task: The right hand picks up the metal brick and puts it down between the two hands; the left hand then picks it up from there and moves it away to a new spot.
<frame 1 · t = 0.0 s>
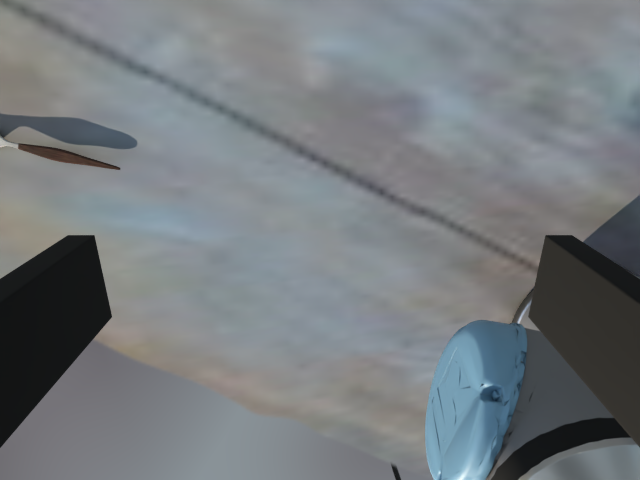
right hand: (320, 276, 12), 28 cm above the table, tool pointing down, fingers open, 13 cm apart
fork: (36, 147, 39), on the table
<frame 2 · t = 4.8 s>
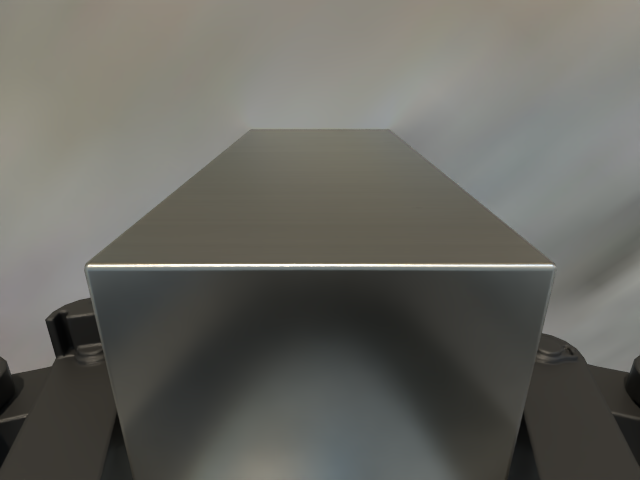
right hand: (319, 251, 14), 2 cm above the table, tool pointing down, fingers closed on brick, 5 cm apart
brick: (320, 226, 16), on the table, touching right hand
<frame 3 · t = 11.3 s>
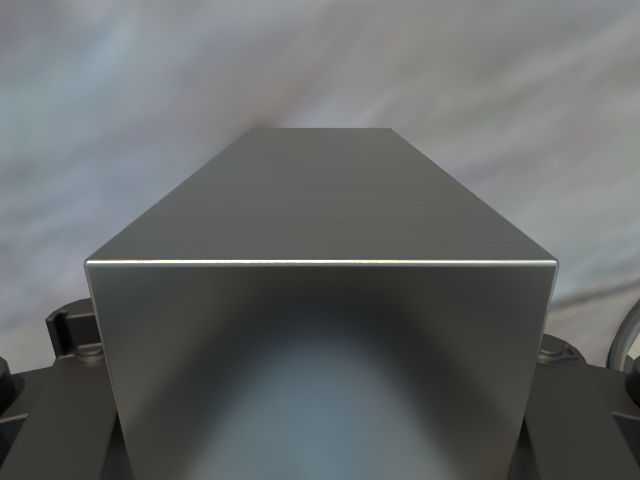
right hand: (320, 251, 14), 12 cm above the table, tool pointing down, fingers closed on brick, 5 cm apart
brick: (320, 225, 16), point 9 cm above the table, touching right hand
when the right hand's fingers open (4 cm above the table, at t = 18.1 s): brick drops 1 cm, on the table.
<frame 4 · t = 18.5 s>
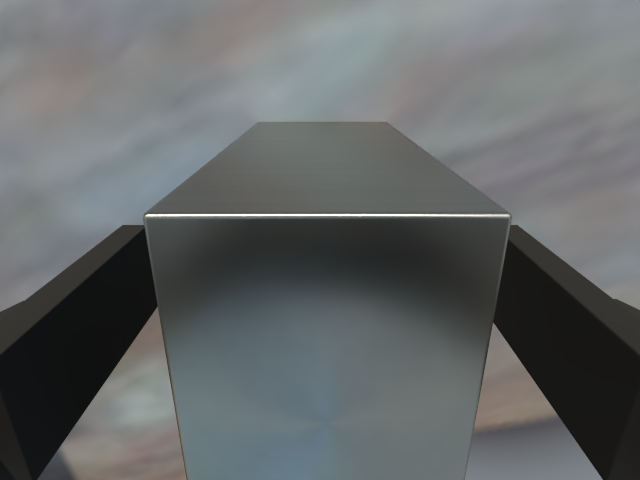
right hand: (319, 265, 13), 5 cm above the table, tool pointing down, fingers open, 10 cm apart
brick: (322, 212, 18), on the table
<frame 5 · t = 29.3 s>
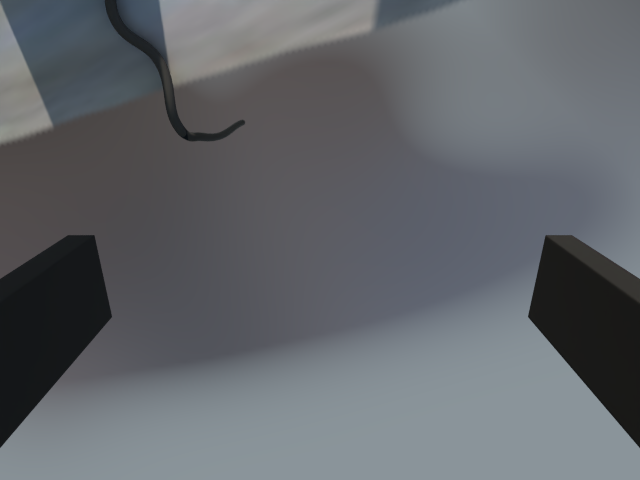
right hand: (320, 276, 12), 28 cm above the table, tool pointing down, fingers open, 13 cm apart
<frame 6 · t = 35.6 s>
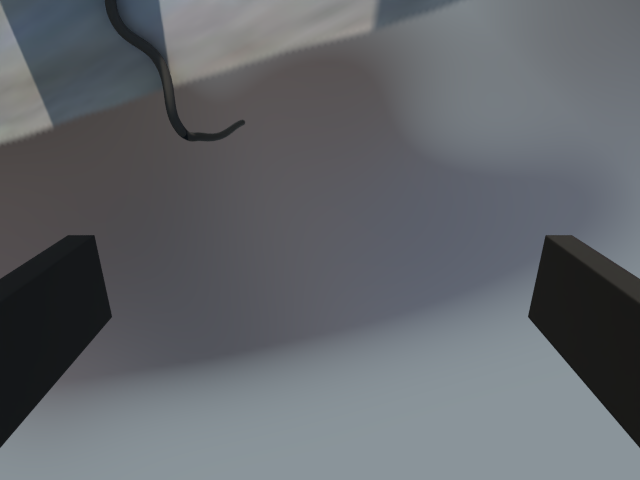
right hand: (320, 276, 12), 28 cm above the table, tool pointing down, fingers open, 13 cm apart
when the left hand's fingers open (4 cm above the table, at t = 42.1 s): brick drops 1 cm, on the table.
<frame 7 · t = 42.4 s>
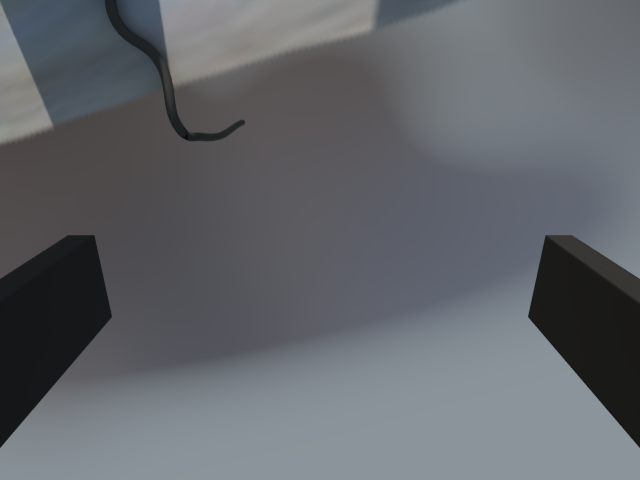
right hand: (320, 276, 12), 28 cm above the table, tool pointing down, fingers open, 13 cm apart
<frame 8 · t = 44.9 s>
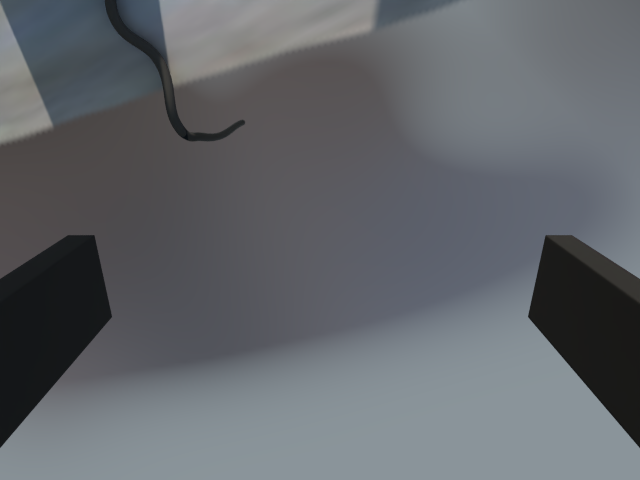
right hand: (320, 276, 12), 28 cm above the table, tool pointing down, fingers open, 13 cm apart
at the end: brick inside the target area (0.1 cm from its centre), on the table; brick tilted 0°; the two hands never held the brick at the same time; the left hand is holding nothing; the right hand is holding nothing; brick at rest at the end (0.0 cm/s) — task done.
